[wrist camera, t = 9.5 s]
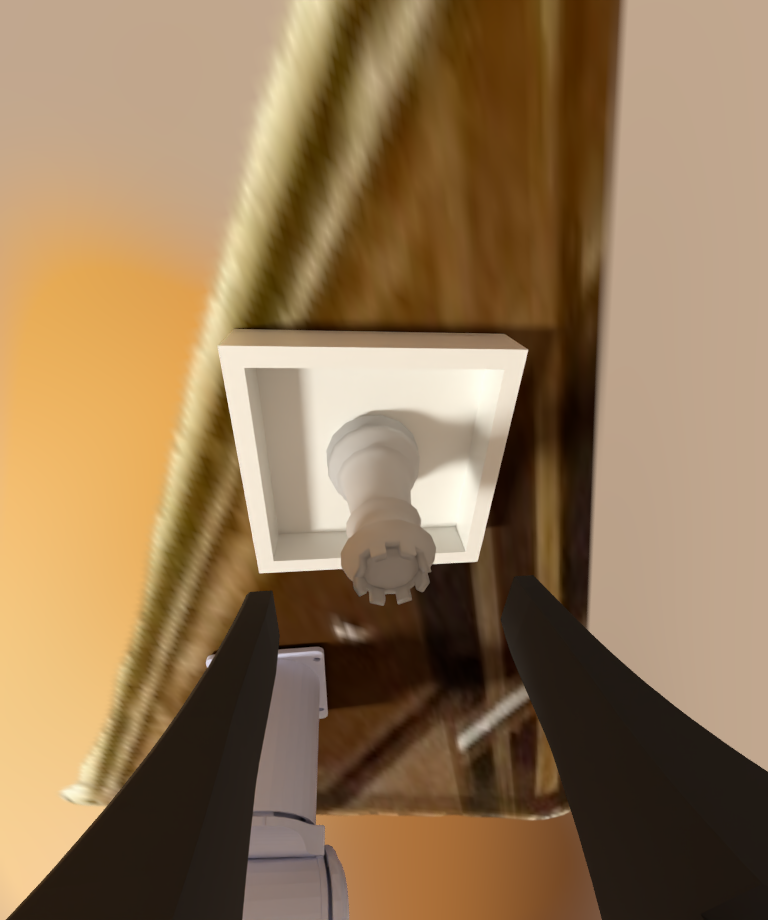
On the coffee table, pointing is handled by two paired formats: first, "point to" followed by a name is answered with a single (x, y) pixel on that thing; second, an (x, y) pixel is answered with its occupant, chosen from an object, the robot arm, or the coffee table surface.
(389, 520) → the rook chess piece
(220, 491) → the coffee table surface
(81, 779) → the coffee table surface
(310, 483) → the tray
